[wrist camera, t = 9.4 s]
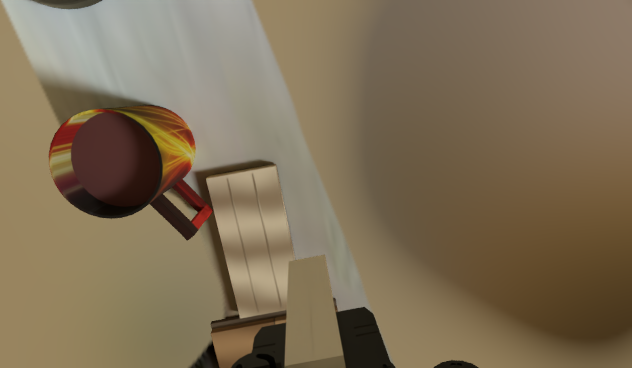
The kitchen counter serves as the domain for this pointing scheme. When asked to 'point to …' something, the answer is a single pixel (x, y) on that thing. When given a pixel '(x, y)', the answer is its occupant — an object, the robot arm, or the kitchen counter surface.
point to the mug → (127, 164)
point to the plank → (253, 237)
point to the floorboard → (241, 335)
